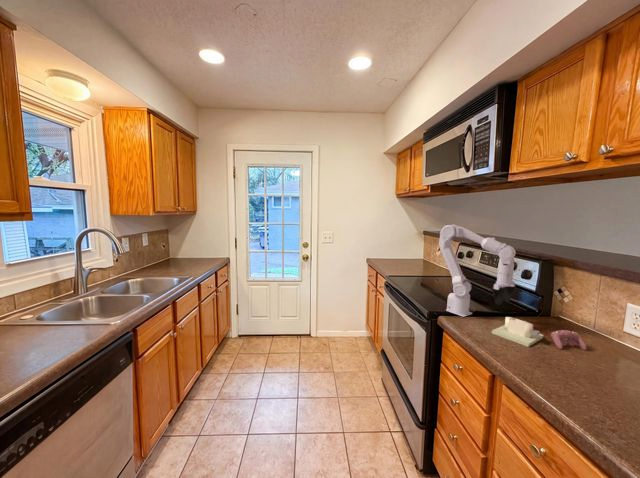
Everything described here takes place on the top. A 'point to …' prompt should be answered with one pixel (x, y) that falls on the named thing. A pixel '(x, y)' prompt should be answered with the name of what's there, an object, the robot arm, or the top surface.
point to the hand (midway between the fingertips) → (502, 302)
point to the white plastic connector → (520, 327)
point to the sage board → (516, 336)
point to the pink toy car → (571, 341)
